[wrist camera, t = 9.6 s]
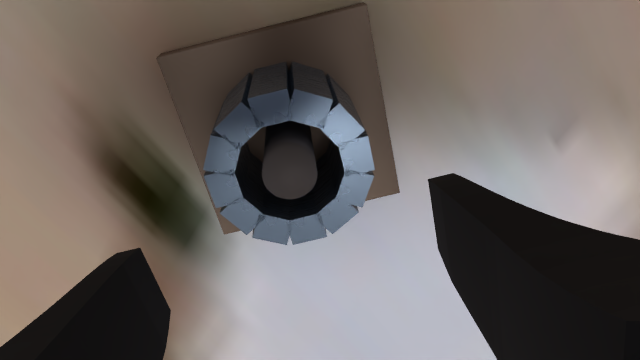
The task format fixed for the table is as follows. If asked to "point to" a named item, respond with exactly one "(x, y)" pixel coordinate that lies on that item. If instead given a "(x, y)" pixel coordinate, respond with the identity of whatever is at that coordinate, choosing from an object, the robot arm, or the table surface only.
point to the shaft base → (274, 47)
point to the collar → (246, 170)
